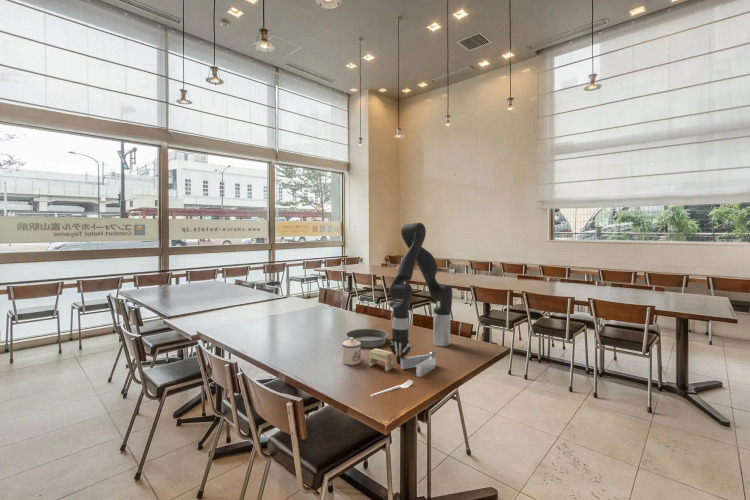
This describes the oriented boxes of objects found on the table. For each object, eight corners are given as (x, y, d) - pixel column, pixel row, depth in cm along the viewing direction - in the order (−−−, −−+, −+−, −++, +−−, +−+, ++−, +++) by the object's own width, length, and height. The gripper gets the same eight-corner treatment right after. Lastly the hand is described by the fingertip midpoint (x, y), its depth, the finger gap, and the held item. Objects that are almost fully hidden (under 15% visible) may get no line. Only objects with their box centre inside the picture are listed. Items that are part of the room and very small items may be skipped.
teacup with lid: (355, 366, 164) (355, 341, 164) (338, 363, 168) (338, 338, 168) (367, 358, 175) (367, 335, 174) (351, 355, 179) (351, 332, 178)
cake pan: (389, 336, 214) (389, 328, 214) (387, 349, 190) (387, 341, 190) (349, 334, 217) (349, 327, 216) (341, 347, 192) (341, 339, 192)
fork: (367, 396, 136) (367, 391, 136) (409, 383, 147) (409, 378, 147) (372, 399, 133) (372, 394, 133) (414, 386, 144) (414, 381, 144)
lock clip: (375, 362, 169) (375, 348, 169) (393, 367, 163) (393, 352, 163) (368, 365, 165) (369, 351, 165) (386, 371, 159) (386, 355, 159)
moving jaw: (431, 362, 169) (432, 350, 169) (436, 365, 166) (436, 352, 166) (400, 368, 162) (400, 355, 162) (404, 370, 159) (404, 357, 159)
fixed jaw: (431, 366, 165) (431, 356, 165) (435, 367, 164) (435, 357, 164) (416, 376, 154) (416, 365, 154) (420, 377, 153) (420, 366, 152)
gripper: (417, 327, 163) (416, 364, 164) (393, 323, 171) (392, 358, 172) (408, 331, 157) (407, 369, 158) (383, 326, 165) (383, 363, 166)
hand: (399, 363), depth 165 cm, fingers closed
